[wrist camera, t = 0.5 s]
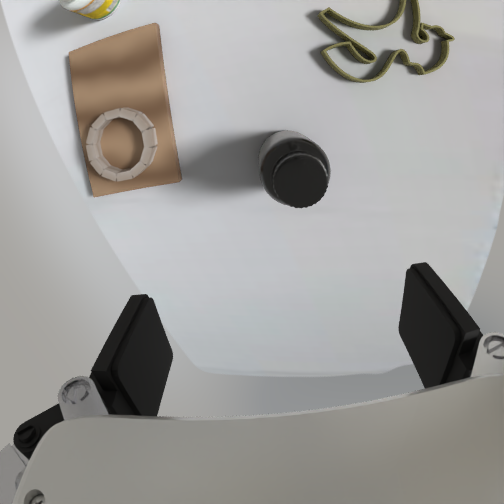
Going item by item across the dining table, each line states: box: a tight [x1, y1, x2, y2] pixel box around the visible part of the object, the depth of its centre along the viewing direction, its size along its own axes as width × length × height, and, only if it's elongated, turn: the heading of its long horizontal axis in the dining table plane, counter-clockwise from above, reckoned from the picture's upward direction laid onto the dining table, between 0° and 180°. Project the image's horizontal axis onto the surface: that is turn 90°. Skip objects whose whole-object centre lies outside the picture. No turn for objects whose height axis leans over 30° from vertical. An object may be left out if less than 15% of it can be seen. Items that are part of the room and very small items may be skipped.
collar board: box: [69, 23, 182, 197], centre depth 33 cm, size 20×12×4 cm, turn 7°
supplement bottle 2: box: [259, 130, 330, 208], centre depth 32 cm, size 7×7×12 cm
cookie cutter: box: [318, 0, 454, 83], centre depth 29 cm, size 18×12×2 cm, turn 120°
